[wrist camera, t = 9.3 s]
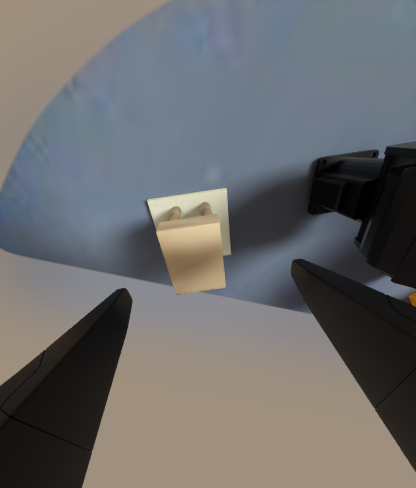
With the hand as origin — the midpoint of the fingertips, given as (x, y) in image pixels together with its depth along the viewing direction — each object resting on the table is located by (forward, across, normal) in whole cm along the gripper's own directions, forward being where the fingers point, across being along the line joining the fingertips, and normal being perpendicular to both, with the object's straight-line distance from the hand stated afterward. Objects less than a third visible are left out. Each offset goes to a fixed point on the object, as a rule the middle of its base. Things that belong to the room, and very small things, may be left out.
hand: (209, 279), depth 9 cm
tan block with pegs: (+12, +1, +2) cm, 12 cm away
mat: (+13, +1, +2) cm, 13 cm away
